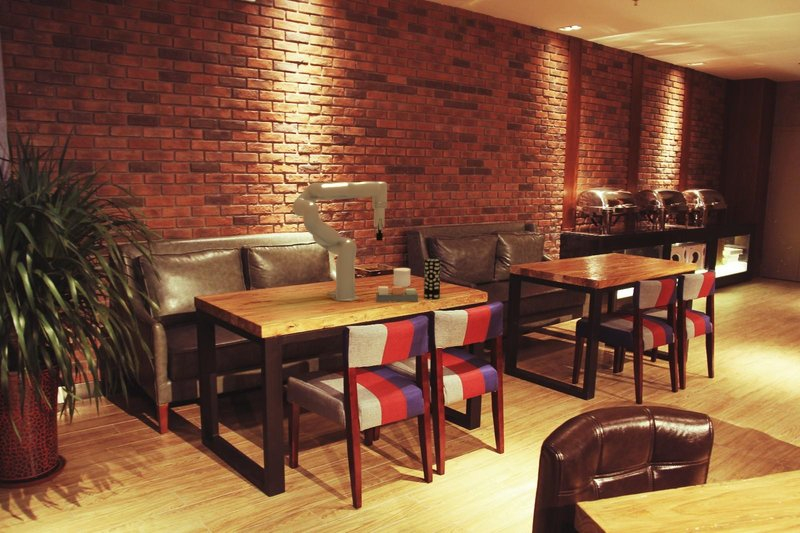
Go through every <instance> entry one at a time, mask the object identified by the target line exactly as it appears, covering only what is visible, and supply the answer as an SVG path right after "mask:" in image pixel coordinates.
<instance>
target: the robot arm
mask: <svg viewBox="0 0 800 533" xmlns="http://www.w3.org/2000/svg"><path fill="white" fill-rule="evenodd" d="M355 198H356V199H359V198H360V199H361V198H362V199H363V198H371V199H372V200H371V201H372V202H371V203H372V209H373V210H374V211H373V226H374V228H376V234H375V237H376V238H375V240H376V242H378V241H379V242H381V241H383V237H384V236H383V234H384V233H383V228H384V227H385V217H386V216H385V209H388V183H387V182H386V181H372V180H371V181H368V180H363V181H361V182H353V181H333V182H332V181H331V182H312V183H310V184H309V185H308V186H306V187H305V189H304V190H302V192H301V193H300V195H299V196H298V197H297V198H296V199H295V200H294V201H293V204H292V211H293V214H295V215H296V216H298V217H301V218H302V219H303V226H304V228H305V230H306V232H308V233H309V234H311V235H312V239H313V241H314V242H315V243H316V244H317V245H318V246H320V247H322V248H323V249H325V250H326V251H328V252H329V253H330V254H334V255H337V258H336V264H335V289H334V290H333V291H330V290H329V291H328V290H327V294H326V295H327V296H333V297H332V299H333V300H334V301H337V302H353V301H357V300H358V298H359V297H358V295H356V294H355V292H356V290H355V289H356V287H355V286H356V283H355V281H356V280H355V279H356V277H355V275H356V268H355V267H356V265H355V262H356V254H357V251H358V250H357V244H356V241H354V239H351V238H349V237H345V236H340V234H339V232H338V231H337V229H335V228H334V227H332V226H331V225H329V224H328V223H326V222H324V221H323V220H322V219H321V218H320V216H319V215H320V214H319V206H318V204H317V203H316V202H317V200H318V201H331V200H343V199H344V200H345V199H346V200H347V199H348V200H349V199H355Z"/></svg>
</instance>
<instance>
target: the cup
mask: <svg viewBox="0 0 800 533" xmlns="http://www.w3.org/2000/svg"><path fill="white" fill-rule="evenodd" d="M411 270H412V269H411V268H409V267H398V268H393V280H392V281H393V282H392V284H393V286H401V287H402V288H408V286H409V287H410V286H411Z"/></svg>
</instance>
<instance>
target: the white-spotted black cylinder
mask: <svg viewBox="0 0 800 533" xmlns="http://www.w3.org/2000/svg"><path fill="white" fill-rule="evenodd" d="M441 262H442V261H441V259H439V258H425V259H424V272H423V273H424V274H423V276H424V277H423V298H424V299H425V298H427V299H426V300H440V299H441V267H442V265H441V264H442V263H441Z"/></svg>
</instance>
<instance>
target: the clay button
mask: <svg viewBox="0 0 800 533" xmlns="http://www.w3.org/2000/svg"><path fill="white" fill-rule="evenodd" d="M391 293H392V295H402V293H403V287H401V286H394V285H392V286H391Z"/></svg>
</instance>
